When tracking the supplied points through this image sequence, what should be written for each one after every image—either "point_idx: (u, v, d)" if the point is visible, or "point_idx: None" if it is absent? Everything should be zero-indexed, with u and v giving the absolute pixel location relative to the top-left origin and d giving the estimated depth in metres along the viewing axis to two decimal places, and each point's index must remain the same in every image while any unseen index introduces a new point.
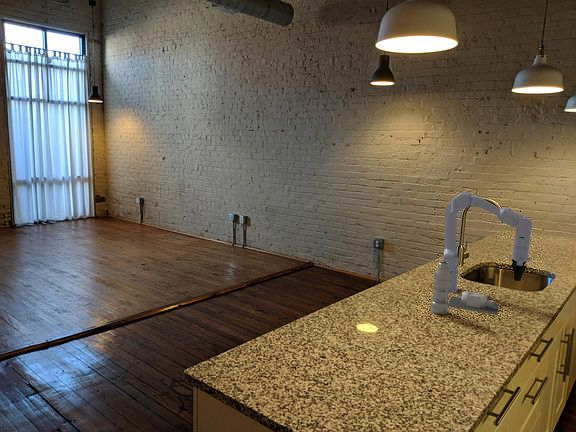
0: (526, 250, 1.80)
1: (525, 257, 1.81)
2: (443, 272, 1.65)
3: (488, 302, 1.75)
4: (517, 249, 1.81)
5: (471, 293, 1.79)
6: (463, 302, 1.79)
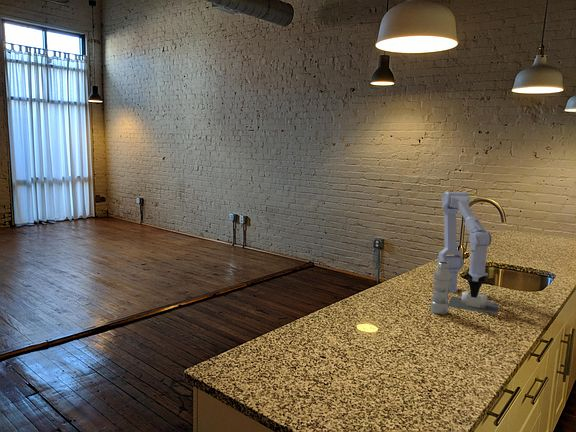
0: (483, 265, 1.74)
1: (482, 272, 1.74)
2: (443, 272, 1.65)
3: (488, 302, 1.75)
4: (473, 264, 1.75)
5: None
6: (463, 302, 1.79)
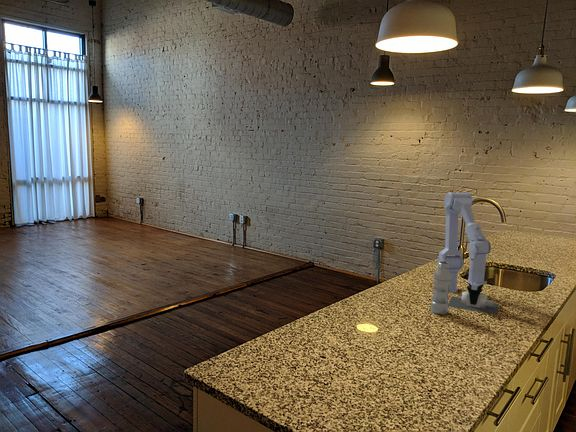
0: (482, 273, 1.74)
1: (481, 281, 1.75)
2: (443, 272, 1.65)
3: (488, 302, 1.75)
4: (473, 272, 1.75)
5: None
6: (463, 302, 1.79)
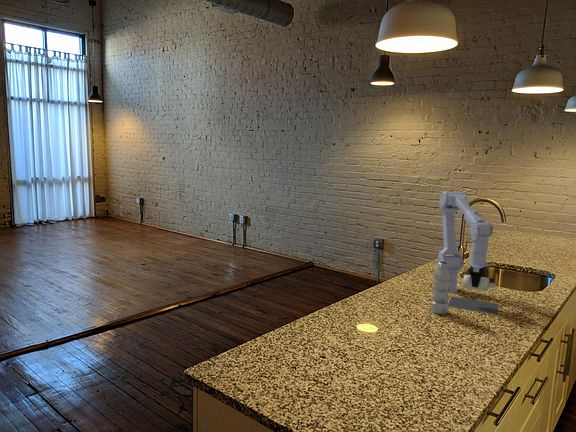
0: (483, 256, 1.73)
1: (483, 263, 1.74)
2: (443, 272, 1.65)
3: (490, 285, 1.74)
4: (474, 255, 1.74)
5: None
6: (465, 285, 1.78)
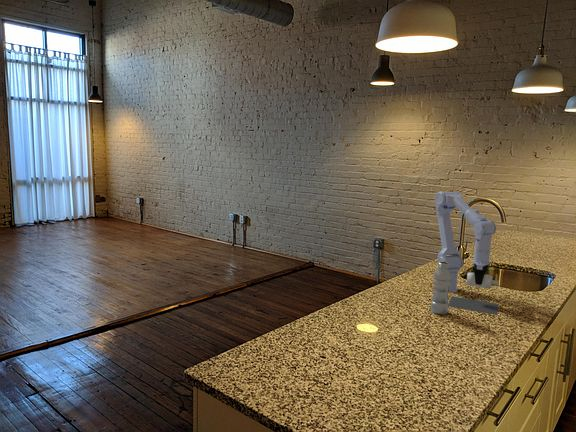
0: (487, 254, 1.76)
1: (486, 261, 1.77)
2: (443, 272, 1.65)
3: (493, 282, 1.77)
4: (478, 253, 1.77)
5: None
6: (468, 282, 1.81)
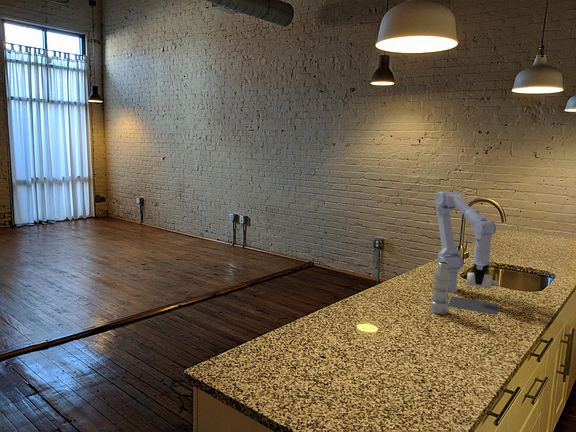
0: (487, 254, 1.76)
1: (486, 261, 1.77)
2: (443, 272, 1.65)
3: (493, 282, 1.77)
4: (478, 253, 1.77)
5: None
6: (468, 282, 1.81)
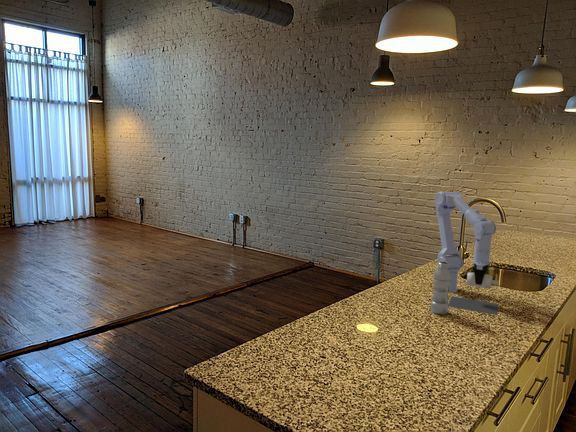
0: (487, 254, 1.76)
1: (486, 261, 1.77)
2: (443, 272, 1.65)
3: (493, 282, 1.77)
4: (478, 253, 1.77)
5: None
6: (468, 282, 1.81)
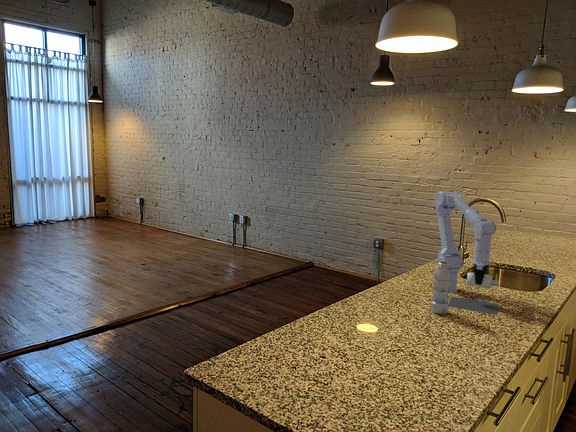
0: (487, 254, 1.76)
1: (486, 261, 1.77)
2: (443, 272, 1.65)
3: (493, 282, 1.77)
4: (478, 253, 1.77)
5: None
6: (468, 282, 1.81)
